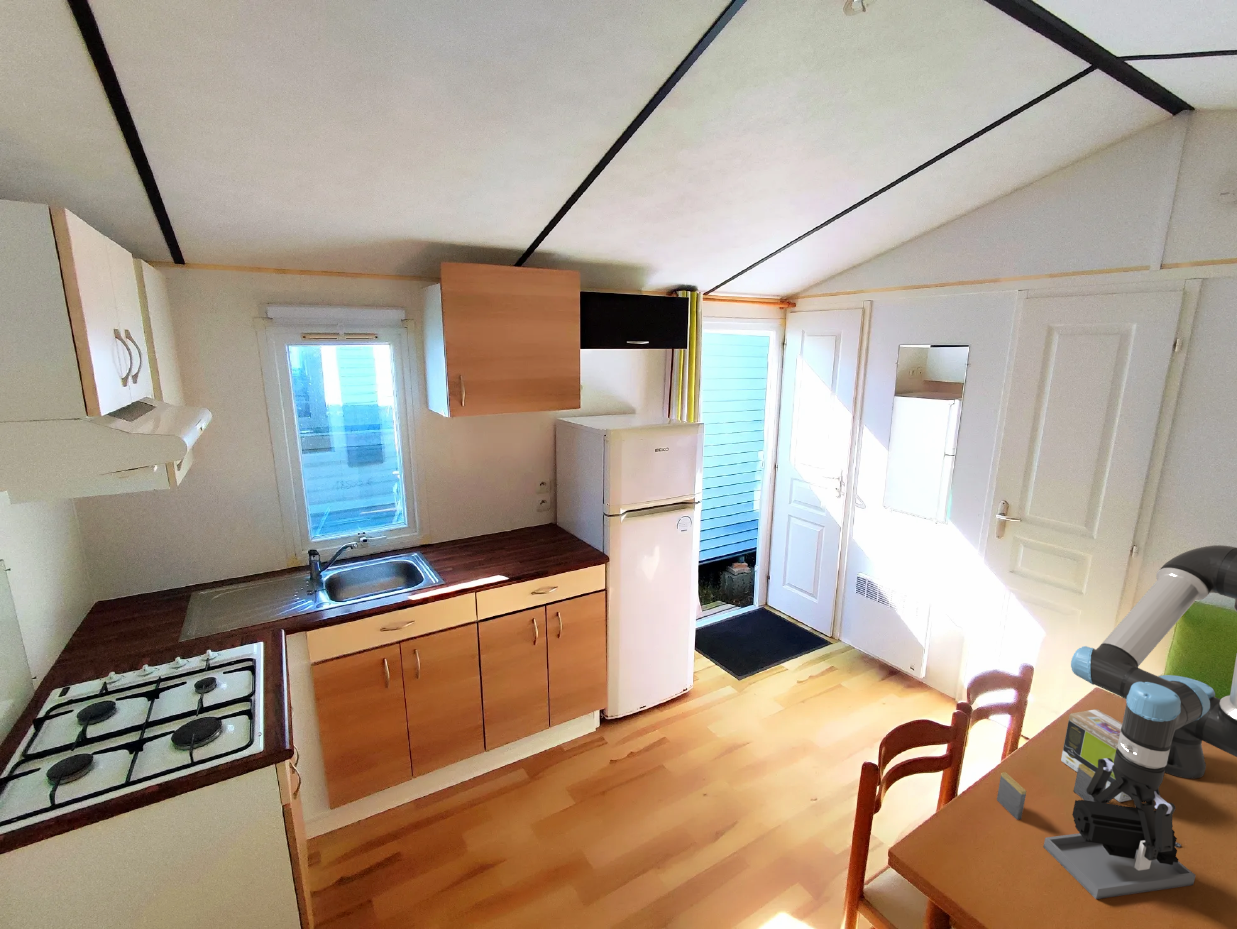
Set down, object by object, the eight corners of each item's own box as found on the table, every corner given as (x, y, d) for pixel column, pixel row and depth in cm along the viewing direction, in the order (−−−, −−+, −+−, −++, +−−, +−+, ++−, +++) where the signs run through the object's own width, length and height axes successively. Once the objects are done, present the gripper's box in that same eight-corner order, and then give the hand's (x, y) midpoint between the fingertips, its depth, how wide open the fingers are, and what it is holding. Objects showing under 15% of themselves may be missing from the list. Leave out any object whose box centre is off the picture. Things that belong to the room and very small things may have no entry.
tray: (1132, 835, 129) (1135, 826, 128) (1193, 885, 117) (1195, 875, 116) (1043, 846, 125) (1045, 837, 125) (1095, 899, 114) (1098, 889, 113)
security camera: (1185, 875, 115) (1196, 834, 113) (1083, 859, 119) (1091, 819, 117) (1160, 846, 122) (1170, 807, 120) (1064, 831, 125) (1072, 793, 123)
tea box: (1149, 796, 140) (1162, 744, 137) (1119, 803, 138) (1131, 751, 135) (1087, 754, 154) (1097, 706, 151) (1058, 760, 152) (1068, 712, 149)
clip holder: (1077, 790, 142) (1083, 763, 140) (1100, 809, 136) (1106, 781, 134) (996, 799, 138) (1001, 772, 137) (1016, 819, 133) (1021, 791, 131)
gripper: (1076, 724, 125) (1059, 810, 130) (1182, 799, 105) (1157, 898, 109) (1106, 721, 126) (1087, 807, 131) (1216, 795, 106) (1190, 893, 110)
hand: (1119, 848), depth 120 cm, fingers closed on security camera, 8 cm apart
